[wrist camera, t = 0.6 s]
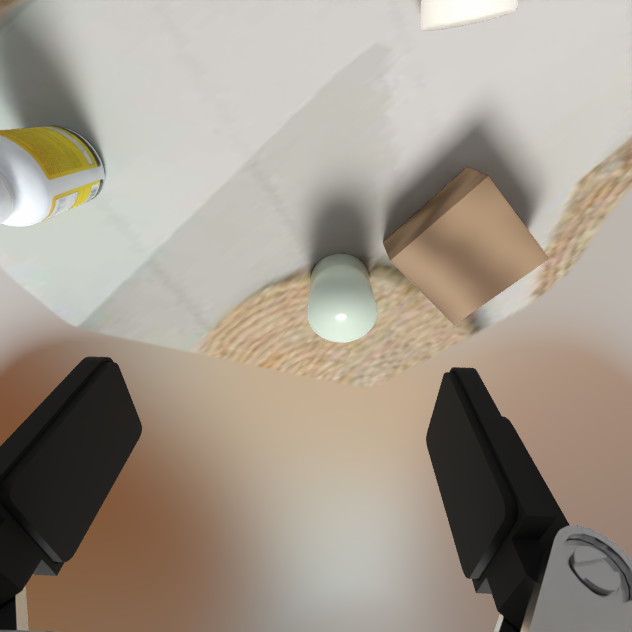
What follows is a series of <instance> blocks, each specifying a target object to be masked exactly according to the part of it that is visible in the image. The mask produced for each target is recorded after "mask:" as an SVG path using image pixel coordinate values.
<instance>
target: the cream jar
mask: <svg viewBox="0 0 632 632" xmlns="http://www.w3.org/2000/svg"><path fill="white" fill-rule="evenodd" d="M517 2H518V0H421V30H423V31H431V30H441V29H447V28H453V27H459V26H464V25H469V24H473V23H478V22H482V21H486V20H490V19H493V18H497V17H500V16H503V15H506V14H509V13H511V12H513V11H515V10H516V9H517Z"/></svg>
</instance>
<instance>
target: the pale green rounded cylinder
mask: <svg viewBox="0 0 632 632" xmlns="http://www.w3.org/2000/svg"><path fill="white" fill-rule="evenodd" d="M376 317H377V308H376V304H375V300H374V295H373V291H372V287H371V283H370V279H369V275H368V271H367V269H366V267H365V265H364V264H363V263H362V262H361V261H360V260H359V259H357V258H356V257H354V256H351V255H348V254H342V253H341V254H333V255H329V256H327V257H325V258H323V259H322V260H320V261H319V262H318V263H317V264H316V266H315V267H314V269H313V271H312V274H311V281H310V292H309V302H308V321H309V323H310V325H311V327H312V329H313V330H314V331H315V332H316V333H317V334H318V335H319V336H321V337H322V338H324V339H327V340H329V341H333V342H350V341H354V340H356V339H359V338H361V337H362V336H364V335H365V334H366V333H368V332H369V331H370V329H371V328H372V327H373V325H374V323H375V320H376Z"/></svg>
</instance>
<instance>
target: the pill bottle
mask: <svg viewBox="0 0 632 632" xmlns="http://www.w3.org/2000/svg"><path fill="white" fill-rule="evenodd" d="M104 179H105V175H104V168H103V165H102V162H101V160H100V157H99V156H98V154H97V152H96V151H95V149H94V148H93V147H92V146H91V145H90V143H89V142H88V141H87V140H85V139H84V138H83V137H82V136H80V135H79V134H77V133H76V132H74V131H72V130H70V129H67V128H64V127H59V126H43V127H32V128H22V129H11V130H0V223H2V224H6V225H10V226H29V225H33V224H36V223H39V222H41V221H44V220H46V219H48V218H50V217H53V216H55V215H57V214H60V213H62V212H64V211H67V210H69V209H71V208H74V207H76V206H78V205H80V204H83V203H85V202H88V201H90V200H92V199H93V198H95V197H96V196H97V195H98V194H99V193H100V192H101V190H102V188H103V185H104Z"/></svg>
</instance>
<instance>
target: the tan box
mask: <svg viewBox="0 0 632 632" xmlns="http://www.w3.org/2000/svg"><path fill="white" fill-rule="evenodd" d="M383 244H384V247H385V249H386V251H387V254H388V256H389V259H390V261H391V262H392V263H393V264H394V265H395V266H396V267H397V268H398V269H399V270H400V271H401V272H402V273H403V274H404V275H405V276H406V277H407V278H408V279H409V280H410V281H411V282H412V283H413V284H414V285H415V286H416V287H417V288H418V289H419V290H420V291H421V292H422V293H423V294H424V295H425V296H426V297H427V298H428V299H429V300H430V301H431V302H432V303H433V304H434V305H435V306H436V307H437V308H438V309H439V310H440V311H441V312H442V313H443V314H444V315H445V316H446V317H447V318H448V319H449V320H450V321H451V322H452V323H453V324H454V325H455V324H456V323H458V322H459V321H461V320H462V319H463V318H465V317H466V316H468V315H469V314H471V313H472V312H473V311H475V310H476V309H478V308H479V307H481V306H482V305H484V304H485V303H486V302H488V301H489V300H491V299H492V298H494V297H495V296H496V295H498V294H499V293H501V292H502V291H504V290H505V289H506V288H508V287H509V286H511V285H512V284H514V283H515V282H517V281H518V280H519V279H521V278H522V277H524V276H525V275H527V274H528V273H529V272H531V271H532V270H534V269H535V268H537V267H538V266H539V265H541V264H542V263H544V262H545V261H547V260H548V259H549V257H548V256H547V255H546V253H545V252H544V251H543V249H542V248H541V247H540V245H539V244H538V243H537V241H536V240H535V239H534V237H533V236H532V234H531V233H530V232H529V230H528V229H527V228H526V226H525V225H524V224H523V222H522V221H521V220H520V218H519V217H518V216H517V214H516V213H515V211H514V210H513V209H512V207H511V206H510V205H509V203H508V202H507V201H506V199H505V198H504V197H503V195H502V194H501V193H500V191H499V190H498V188H497V187H496V186H495V184H494V183H493V182H492V180H491V179H490V178H489V176H487V175H485V174H483V173H480V172H478V171H476V170H474V169H471V168H469V167H466V168H465V169H464V170H463V171H462V172H461V173H460V174H459V175H458V176H456V177H455V178H454V179H453V180H452V181H451V182H450V183H449V184H448V185H446V186H445V187H444V188H443V189H442V190H441V191H440V192H439V193H437V194H436V195H435V196H434V197H433V198H432V199H431V200H430V201H429V202H427V203H426V204H425V205H424V206H423V207H422V208H421V209H420V210H419V211H417V212H416V213H415V214H414V215H413V216H412V217H411V218H410V219H409V220H407V221H406V222H405V223H404V224H403V225H402V226H401V227H400V228H399V229H397V230H396V231H395V232H394V233H393V234H392V235H391V236H390V237H389V238H387V239H386V240H385V241H384V242H383Z"/></svg>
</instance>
